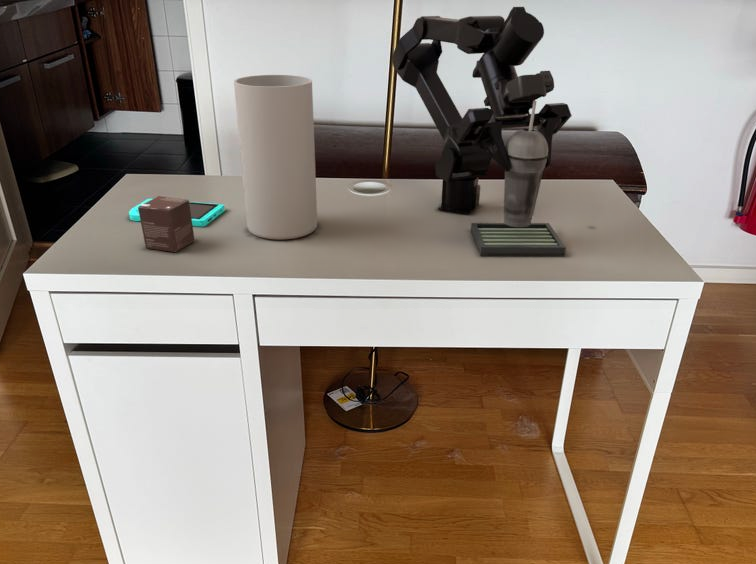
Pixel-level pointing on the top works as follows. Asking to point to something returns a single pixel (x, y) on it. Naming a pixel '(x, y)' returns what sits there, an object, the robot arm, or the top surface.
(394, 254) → the top surface
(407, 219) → the top surface
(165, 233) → the box
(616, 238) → the top surface
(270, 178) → the cylinder vase
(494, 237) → the drying rack
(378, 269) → the top surface
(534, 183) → the beverage cup
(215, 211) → the handheld game console
